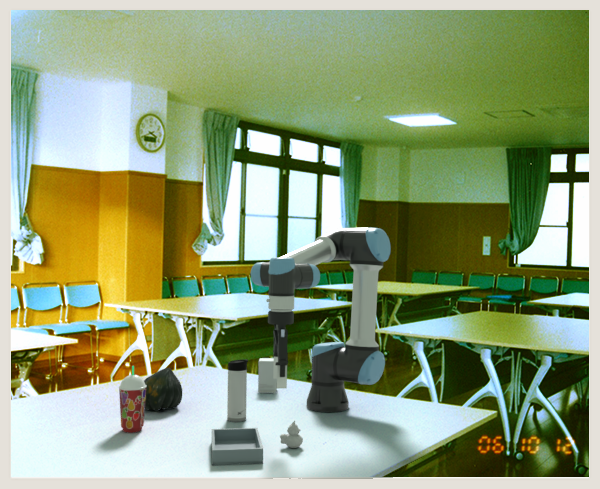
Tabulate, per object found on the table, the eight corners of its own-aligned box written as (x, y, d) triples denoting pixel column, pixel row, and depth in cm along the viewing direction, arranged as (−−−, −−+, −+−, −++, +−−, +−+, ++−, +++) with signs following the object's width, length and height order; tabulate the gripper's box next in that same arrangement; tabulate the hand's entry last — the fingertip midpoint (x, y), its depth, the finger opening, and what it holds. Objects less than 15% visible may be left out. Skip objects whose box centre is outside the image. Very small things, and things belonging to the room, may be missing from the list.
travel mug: (244, 422, 211) (244, 361, 211) (224, 421, 212) (225, 360, 212) (249, 417, 217) (250, 358, 217) (230, 416, 218) (231, 357, 218)
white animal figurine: (303, 450, 184) (303, 422, 184) (280, 450, 183) (280, 422, 183) (302, 444, 189) (302, 417, 189) (279, 444, 189) (279, 417, 189)
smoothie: (151, 428, 204) (152, 364, 204) (136, 435, 196) (137, 369, 196) (128, 425, 206) (129, 362, 206) (112, 432, 198) (113, 367, 198)
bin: (257, 441, 191) (257, 427, 191) (263, 463, 172) (263, 448, 172) (211, 442, 189) (211, 429, 189) (212, 465, 170) (212, 450, 170)
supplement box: (276, 393, 253) (276, 361, 253) (257, 393, 253) (258, 361, 253) (277, 389, 260) (277, 357, 260) (259, 389, 260) (259, 357, 260)
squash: (124, 394, 225) (149, 364, 221) (150, 387, 238) (174, 359, 235) (149, 425, 220) (175, 395, 217) (173, 416, 234) (198, 388, 231)
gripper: (265, 306, 200) (264, 374, 200) (271, 314, 176) (269, 392, 176) (289, 306, 201) (288, 374, 201) (298, 314, 177) (297, 392, 176)
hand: (279, 383), depth 188 cm, fingers open, 13 cm apart
